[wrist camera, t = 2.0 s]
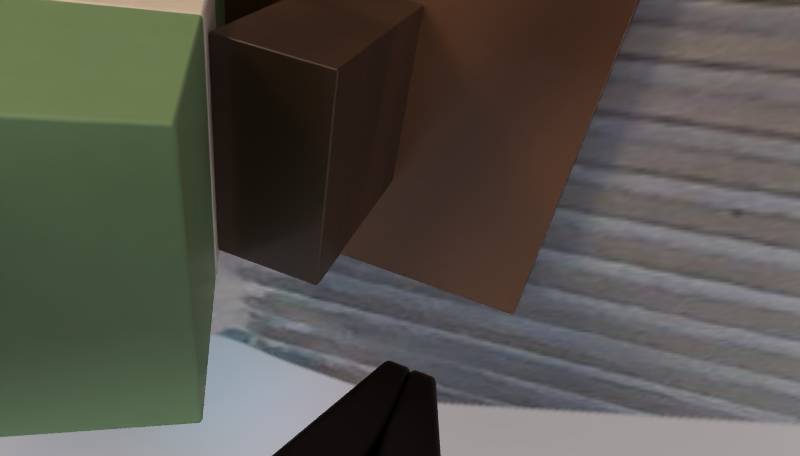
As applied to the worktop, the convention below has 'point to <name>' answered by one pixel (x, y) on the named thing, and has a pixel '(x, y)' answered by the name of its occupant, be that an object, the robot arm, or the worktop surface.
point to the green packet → (105, 213)
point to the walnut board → (404, 132)
